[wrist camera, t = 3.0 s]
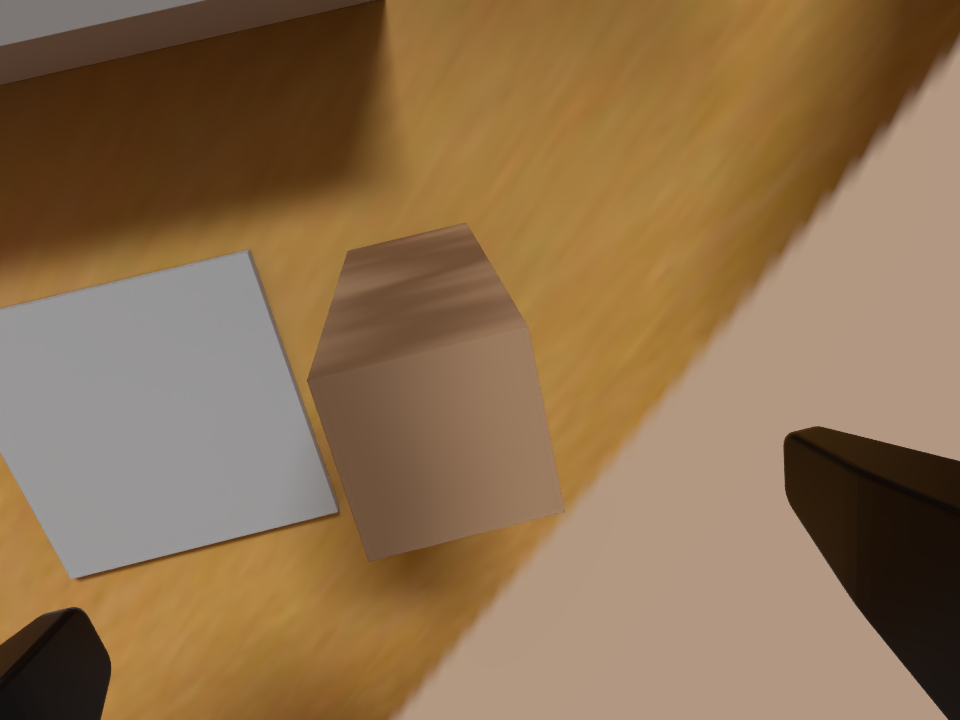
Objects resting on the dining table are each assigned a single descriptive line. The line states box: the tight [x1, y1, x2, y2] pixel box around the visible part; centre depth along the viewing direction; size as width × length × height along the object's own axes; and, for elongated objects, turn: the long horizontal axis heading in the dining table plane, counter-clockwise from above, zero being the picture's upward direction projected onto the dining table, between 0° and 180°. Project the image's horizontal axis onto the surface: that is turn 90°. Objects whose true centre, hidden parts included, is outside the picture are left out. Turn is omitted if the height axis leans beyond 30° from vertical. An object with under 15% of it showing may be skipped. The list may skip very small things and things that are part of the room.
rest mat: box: [0, 250, 339, 579], centre depth 21 cm, size 9×9×1 cm
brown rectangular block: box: [307, 223, 565, 562], centre depth 16 cm, size 4×4×10 cm
